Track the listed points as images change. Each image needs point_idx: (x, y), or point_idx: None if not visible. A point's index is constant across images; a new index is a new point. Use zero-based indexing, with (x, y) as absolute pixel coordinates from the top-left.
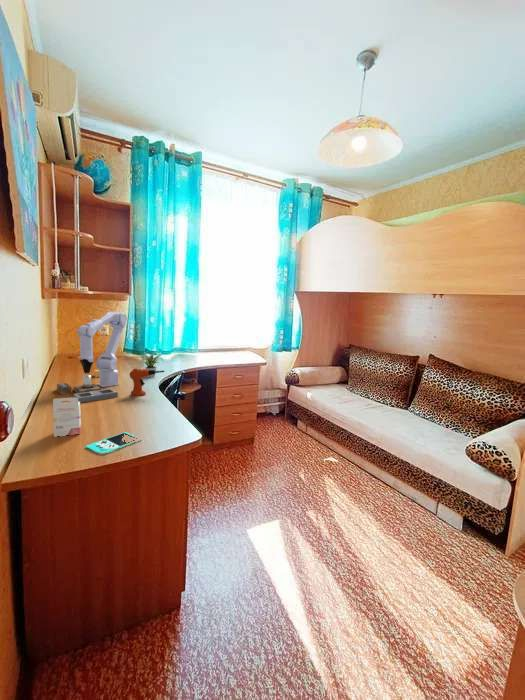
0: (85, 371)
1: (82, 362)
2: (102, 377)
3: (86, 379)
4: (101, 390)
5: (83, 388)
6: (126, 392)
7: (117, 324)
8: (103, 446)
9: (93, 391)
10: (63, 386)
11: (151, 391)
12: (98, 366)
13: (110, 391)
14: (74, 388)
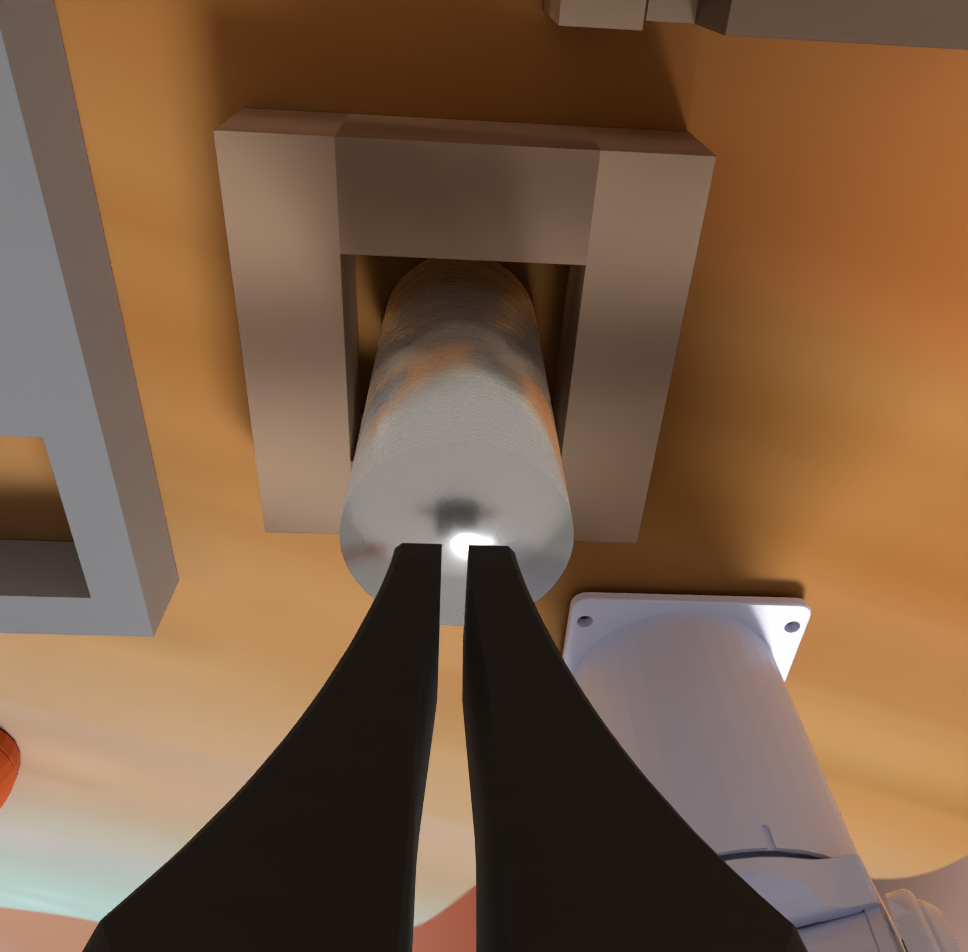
0: (379, 597)
1: (206, 932)
2: (659, 741)
3: (361, 442)
4: (74, 485)
5: (450, 284)
6: (115, 714)
7: None
8: None
9: (46, 350)
10: None
11: (45, 885)
12: (871, 946)
13: (57, 578)
14: (657, 144)
